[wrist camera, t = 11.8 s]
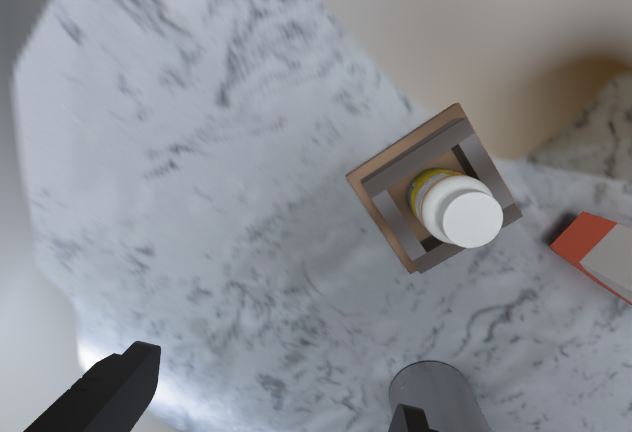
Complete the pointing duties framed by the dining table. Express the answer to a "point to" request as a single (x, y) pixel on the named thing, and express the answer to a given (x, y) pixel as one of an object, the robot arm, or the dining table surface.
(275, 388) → the dining table surface
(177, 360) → the dining table surface
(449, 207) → the supplement bottle
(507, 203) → the collar stand
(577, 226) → the french fries container
